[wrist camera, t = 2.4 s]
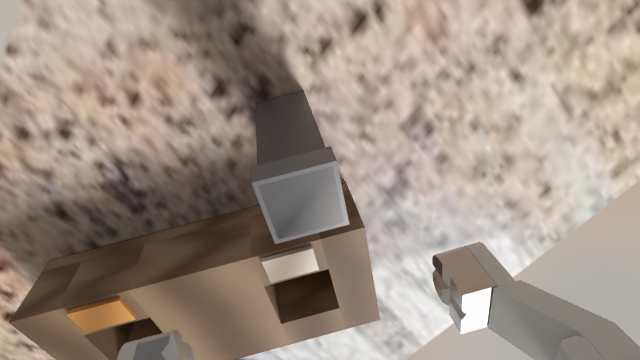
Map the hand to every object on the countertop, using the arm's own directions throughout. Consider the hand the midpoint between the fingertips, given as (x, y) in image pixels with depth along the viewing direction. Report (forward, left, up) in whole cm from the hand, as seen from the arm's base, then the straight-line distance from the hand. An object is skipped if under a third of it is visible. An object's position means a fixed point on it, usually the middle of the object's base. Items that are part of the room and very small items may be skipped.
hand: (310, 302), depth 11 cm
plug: (0, 0, -13) cm, 13 cm away
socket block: (+8, +11, -13) cm, 19 cm away
